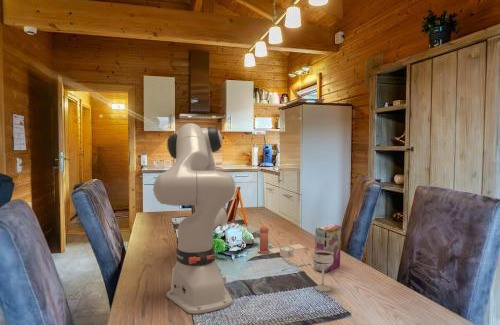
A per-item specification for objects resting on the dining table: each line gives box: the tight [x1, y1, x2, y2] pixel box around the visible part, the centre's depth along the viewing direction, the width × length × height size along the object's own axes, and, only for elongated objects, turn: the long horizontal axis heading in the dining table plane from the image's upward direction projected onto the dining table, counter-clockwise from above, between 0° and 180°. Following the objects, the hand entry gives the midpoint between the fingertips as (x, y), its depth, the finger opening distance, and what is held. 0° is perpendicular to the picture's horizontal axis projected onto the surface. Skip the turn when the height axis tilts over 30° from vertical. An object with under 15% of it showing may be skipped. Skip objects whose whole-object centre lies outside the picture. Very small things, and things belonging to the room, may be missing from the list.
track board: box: [252, 243, 309, 258], centre depth 149 cm, size 10×30×1 cm, turn 119°
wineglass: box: [312, 249, 334, 292], centre depth 111 cm, size 7×7×12 cm
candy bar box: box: [313, 223, 342, 274], centre depth 129 cm, size 11×5×16 cm, turn 135°
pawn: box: [258, 225, 270, 255], centre depth 145 cm, size 5×5×12 cm
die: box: [279, 247, 294, 259], centre depth 141 cm, size 4×4×4 cm
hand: (258, 238), depth 147 cm, fingers open, 8 cm apart
